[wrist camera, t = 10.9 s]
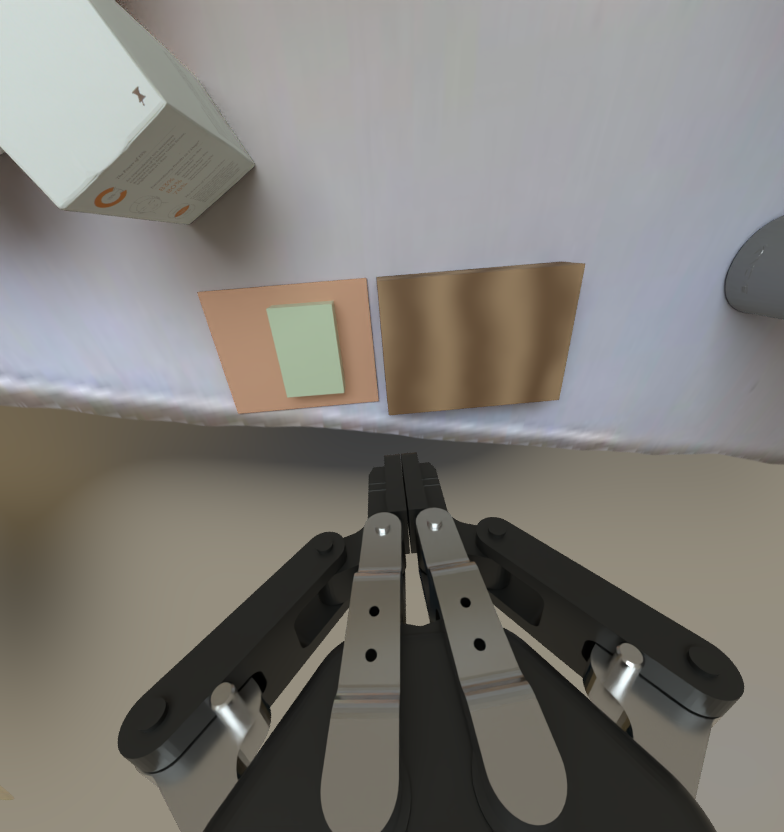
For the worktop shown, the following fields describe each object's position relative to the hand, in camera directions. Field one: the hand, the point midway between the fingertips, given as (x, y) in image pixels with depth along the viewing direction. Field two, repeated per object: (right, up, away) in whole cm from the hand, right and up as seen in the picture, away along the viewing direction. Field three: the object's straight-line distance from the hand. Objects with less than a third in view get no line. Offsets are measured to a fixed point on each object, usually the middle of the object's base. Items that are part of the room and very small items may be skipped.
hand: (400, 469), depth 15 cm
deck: (+8, +11, +19) cm, 23 cm away
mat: (-10, +9, +19) cm, 24 cm away
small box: (-17, +23, +11) cm, 31 cm away
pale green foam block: (-9, +9, +17) cm, 21 cm away
